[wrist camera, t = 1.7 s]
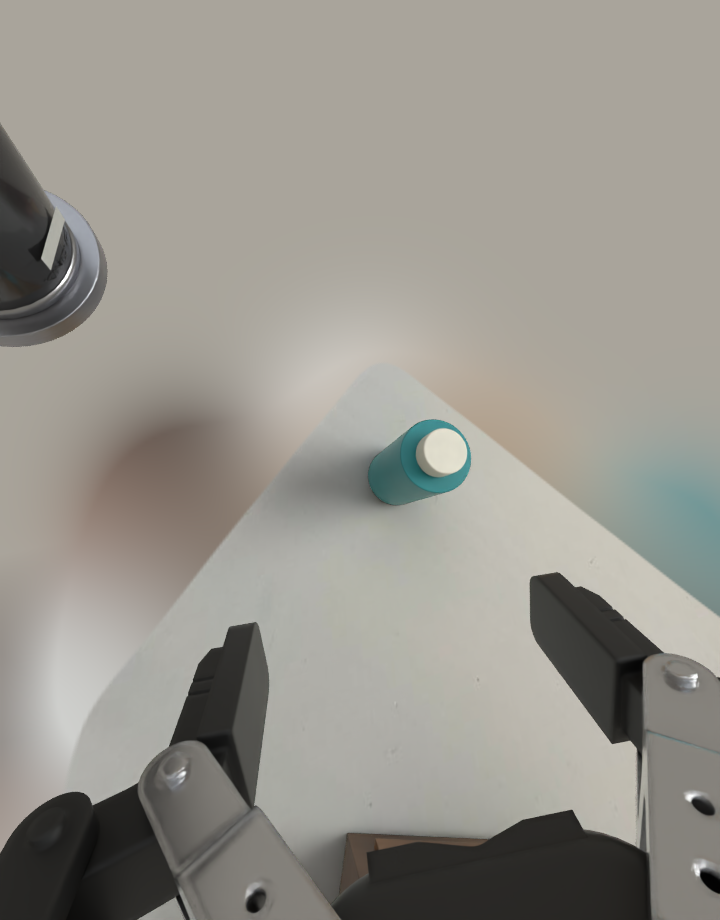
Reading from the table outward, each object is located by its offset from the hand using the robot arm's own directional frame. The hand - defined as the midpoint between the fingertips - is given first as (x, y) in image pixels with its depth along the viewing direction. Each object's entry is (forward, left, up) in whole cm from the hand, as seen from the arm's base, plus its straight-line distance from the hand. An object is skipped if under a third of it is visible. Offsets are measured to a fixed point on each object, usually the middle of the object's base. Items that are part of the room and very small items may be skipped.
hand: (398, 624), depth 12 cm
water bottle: (+4, +8, -19) cm, 21 cm away
